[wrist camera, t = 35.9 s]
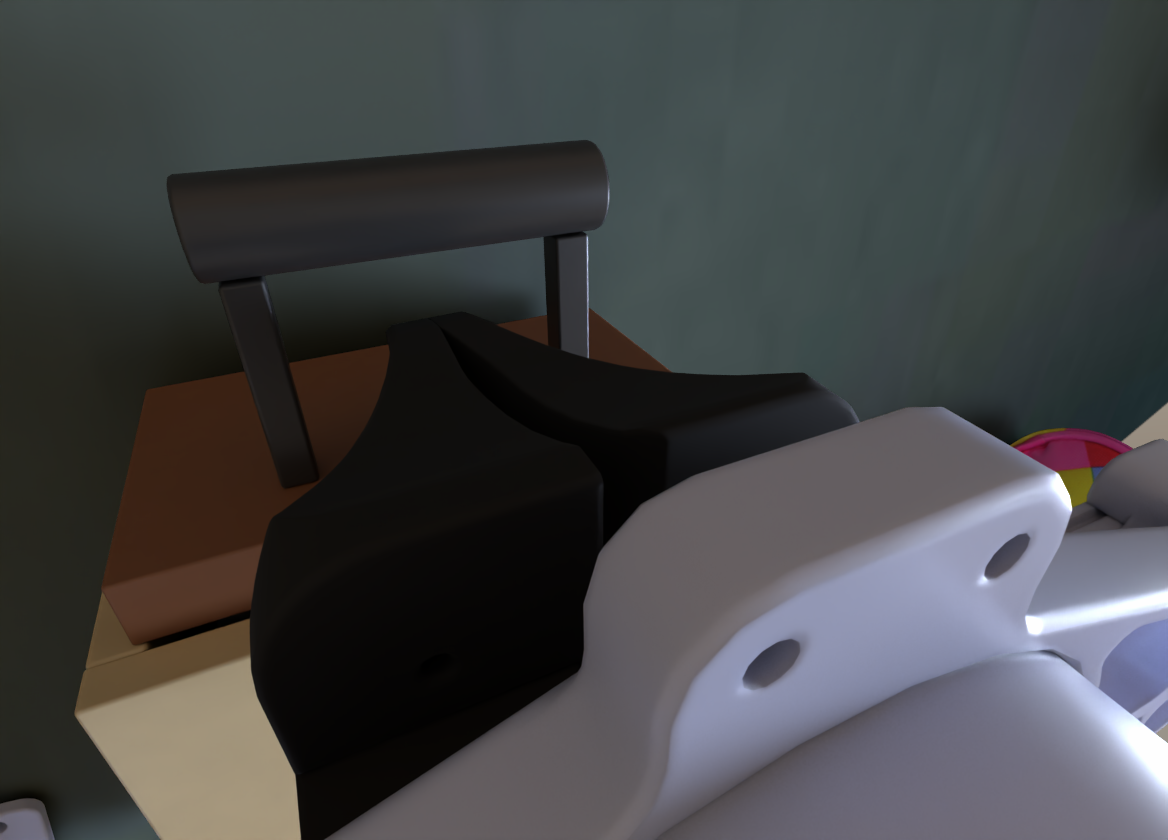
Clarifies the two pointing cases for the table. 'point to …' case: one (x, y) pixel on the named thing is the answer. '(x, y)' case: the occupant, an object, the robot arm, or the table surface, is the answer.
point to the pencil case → (1072, 456)
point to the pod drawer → (326, 384)
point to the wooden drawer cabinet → (188, 732)
